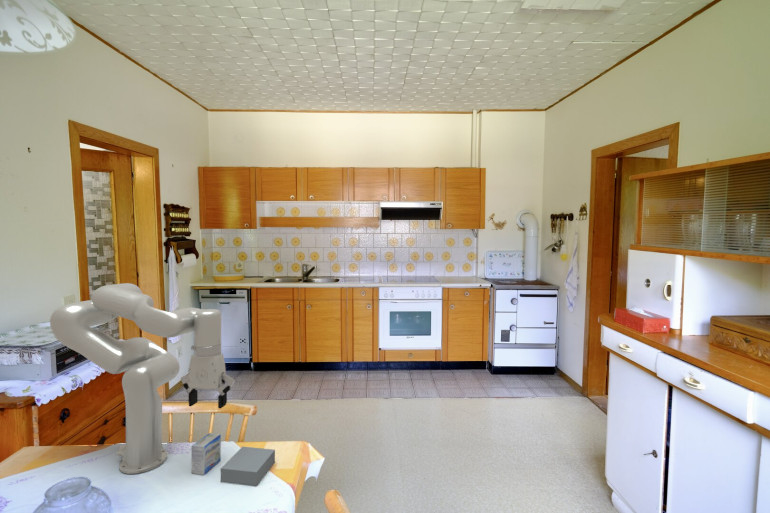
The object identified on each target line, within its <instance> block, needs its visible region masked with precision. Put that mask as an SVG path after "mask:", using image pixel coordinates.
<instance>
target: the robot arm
mask: <svg viewBox="0 0 770 513" xmlns="http://www.w3.org/2000/svg"><path fill="white" fill-rule="evenodd" d="M154 303H155V302H154V299H153V298H152V296H150V295H148V294H144V293H143V292H142V289H141V288H139V286H138V285H136V284H134V283H130V282H126V283H124V282H123V283H115V284H105V285H103V286H100V287H98V288H97V289H95V290H94V291H93V292H92V294H91V296H90V300H84V301H75V302H71V303H67V304H64V305H61V306H60V307H57V309H55V310H54V311H53V312H52V314H51V315H50V319H49V323H50V324H49V325H50V329H51V331H52V334H53V336H54V337H55V338H56V340H57V341H58V342H60V344H62V345H63V346H65V347H66V348H69V349H71V350H72V351H75V352H76V353H78V354H79V355H82V356H83V357H84V358H86V359H87V360H88V361H90V362H92V363H93V364H95V365H97V367H99V368H101V369H102V370H104V371H105V372H107V373H109V374H112V375H115V374H116V375H118V374H121V373H124V374H123V376H122V378H121V386H122V390H123V395H124V402H125V444H121V445H120V446H119V448H118V451H117V450H116V453H115V455H116V457H117V456H119V457H120V456H121V457H122V460H121V461H120V463H119V465H118V468H119V471H120V472H121V473H123V474H129V475H133V474H141V473H145V472H149V471H150V470H154V469H156V468H158V467H159V466H161V465H162V464H164V462H166V460H167V459H168V454H169V453H168V451H167V450H166V449H164V448H163V401H162V398H161V395H160V394H159V391H158V388H160V387H161V386H163V385H165V384H168V383H169V382H171V381H172V380H174V379H175V378H176V377H178V374H179V373H180V367H181V366H180V363H179V361H178V359H177V358H176V357H175V355H173V354H172V353H171V352H169V351H167V350H165V348H162V347H161V346H160V345H158V344H157V343H156V342H153V340H150V339H148V338H146V337H141V336H140V337H139V336H138V337H131V338H128V339H125V340H120V339H116V338H115V337H113V336H112V335H110V334H108V333H107V332H106V331H102V330H100V329H96V328H93V327H94V326H97V325H98V326H99V325H103V324H106V323H108V322H111V321H113V320H115V319H116V318H118V317H119V318H120V317H121V318H122V319H127V320H130V321H132V322H134V323H135V325H136V326H137V327H138V328H139V329H140V330H141V331H143V332H145V333H148V334H150V335H155V336H158V337H161V338H175V337H178V336H182V335H184V334H187V333H188V334H189V333H191V332H193V345H191V347H190V350H191V351H193V354H192V355H191V356H190V361H189V366H188V373H187V374H185V375H184V376H181V377H180V380H181V382H182V387H183V388H184V389H185V390H186V393H187V394H188V406H189V407H192V406H195V405H196V404H197V403H198V398H199V397H198V396H199V395H198V390H204V391H205V390H206V391H217V392H218V393H219V394H218V396H217V398H218V399H217V400H218V401H217V403H218V404H217V406H218V408H217V409H222V408H224V407H225V406H226V405H227V403H228V398H227V397H228V392H230V390H231V389H233V386H234V383H235V382H236V380H235V379H234V378H233V377H231V376H230V375H228V374H226V363H225V362H226V361H225V358H224V353H222V312H221V311H220V310H219V309H216V308H206V309H205V308H204V309H202V308H197V307H193V306H192V307H191V306H190V307H185V308H180V309H175V310H172V311H171V310H170V311H166V310H162V309H159V308H155V306H154V305H155V304H154ZM226 382H227V385H226Z"/></svg>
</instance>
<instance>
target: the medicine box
mask: <svg viewBox="0 0 770 513" xmlns="http://www.w3.org/2000/svg"><path fill="white" fill-rule="evenodd" d="M221 436H222V435H221V434H219V433H214V432H213V433H212V432H209V433H208V434H206V435H205V436H204V437H202V438H200V439H199V440H197V441H196V442H195V443H193V444H192V445H191V474H194V475H199V476H200V475H202V476H205V475H206V474H207V473H209V472H210V471H211V470H212V469H213V468H214V467H215V466H216V465H218V464H219V463H220V462H221V459H222V456H221V455H222V454H221V453H222V452H221V450H222V448H221V444H222V442H221V440H222V438H221Z"/></svg>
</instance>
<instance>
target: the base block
mask: <svg viewBox="0 0 770 513" xmlns="http://www.w3.org/2000/svg"><path fill="white" fill-rule="evenodd" d="M275 462H276V449H271V448H261V447H251V446H241V447H240V448H239V449H238V450H237V451H236V453H234V454H233V455H232V456H231V457H230V458H229V460H228V461H226V462H225V463H224V464H223V465H222V466H221V468H220V483H225V484H233V485H234V484H236V485H243V486H253V487H257V486H258V485H259V484H260V482H261V481H262V480H263V479H264V478H265V476H266V474H267V473H268V471H270V469H271V468H272V467H273V465H274V464H275Z"/></svg>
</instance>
